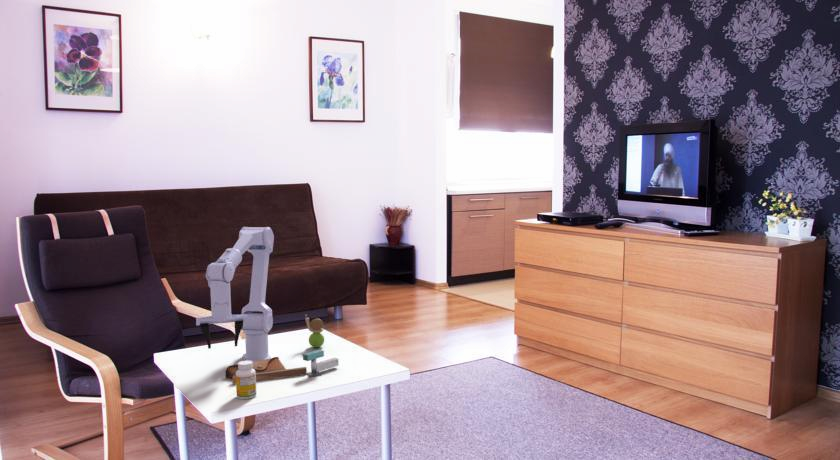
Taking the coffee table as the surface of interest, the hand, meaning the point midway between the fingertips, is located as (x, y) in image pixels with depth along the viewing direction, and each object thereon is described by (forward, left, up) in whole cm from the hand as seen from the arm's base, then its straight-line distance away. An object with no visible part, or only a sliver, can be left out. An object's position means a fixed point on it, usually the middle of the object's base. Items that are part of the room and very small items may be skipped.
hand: (222, 346), depth 202 cm
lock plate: (+8, +26, -10) cm, 29 cm away
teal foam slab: (+6, +29, -9) cm, 31 cm away
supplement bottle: (+19, +4, -10) cm, 22 cm away
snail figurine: (-22, +34, -10) cm, 42 cm away
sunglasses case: (0, +10, -11) cm, 15 cm away
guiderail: (+6, +13, -10) cm, 17 cm away
